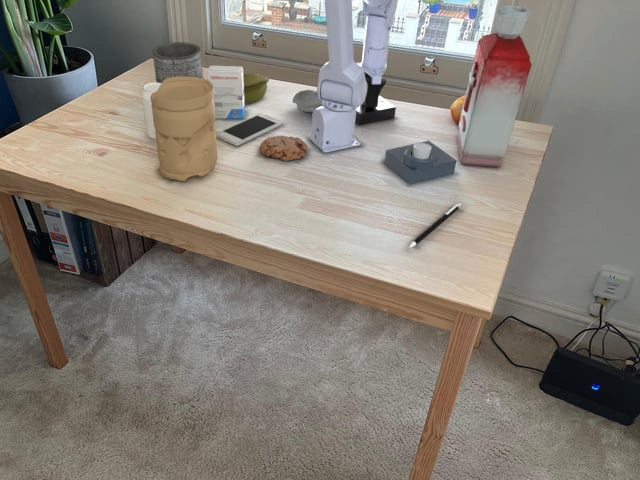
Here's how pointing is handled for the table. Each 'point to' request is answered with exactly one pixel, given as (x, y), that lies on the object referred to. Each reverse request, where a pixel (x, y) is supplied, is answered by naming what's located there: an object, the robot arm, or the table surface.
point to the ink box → (227, 91)
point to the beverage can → (149, 107)
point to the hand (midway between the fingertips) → (369, 102)
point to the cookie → (283, 147)
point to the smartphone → (248, 129)
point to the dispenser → (419, 163)
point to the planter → (177, 61)
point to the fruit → (457, 109)
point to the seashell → (307, 100)
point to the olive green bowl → (254, 87)
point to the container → (185, 127)
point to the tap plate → (375, 112)
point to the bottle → (494, 90)
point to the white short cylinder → (421, 151)
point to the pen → (435, 225)
